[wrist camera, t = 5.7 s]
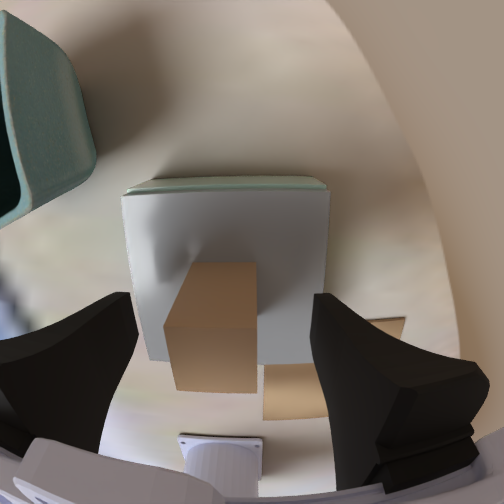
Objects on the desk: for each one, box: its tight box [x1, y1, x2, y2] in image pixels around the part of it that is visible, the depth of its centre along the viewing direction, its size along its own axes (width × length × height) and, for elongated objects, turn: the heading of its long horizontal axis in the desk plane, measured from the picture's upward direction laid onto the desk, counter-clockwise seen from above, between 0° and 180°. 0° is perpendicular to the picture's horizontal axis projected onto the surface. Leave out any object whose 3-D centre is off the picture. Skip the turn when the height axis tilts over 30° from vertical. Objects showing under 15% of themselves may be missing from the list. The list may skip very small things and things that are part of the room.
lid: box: [121, 188, 331, 393], centre depth 12 cm, size 9×9×6 cm
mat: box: [263, 317, 405, 420], centre depth 21 cm, size 10×10×1 cm
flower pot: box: [0, 10, 96, 229], centre depth 11 cm, size 9×9×9 cm
